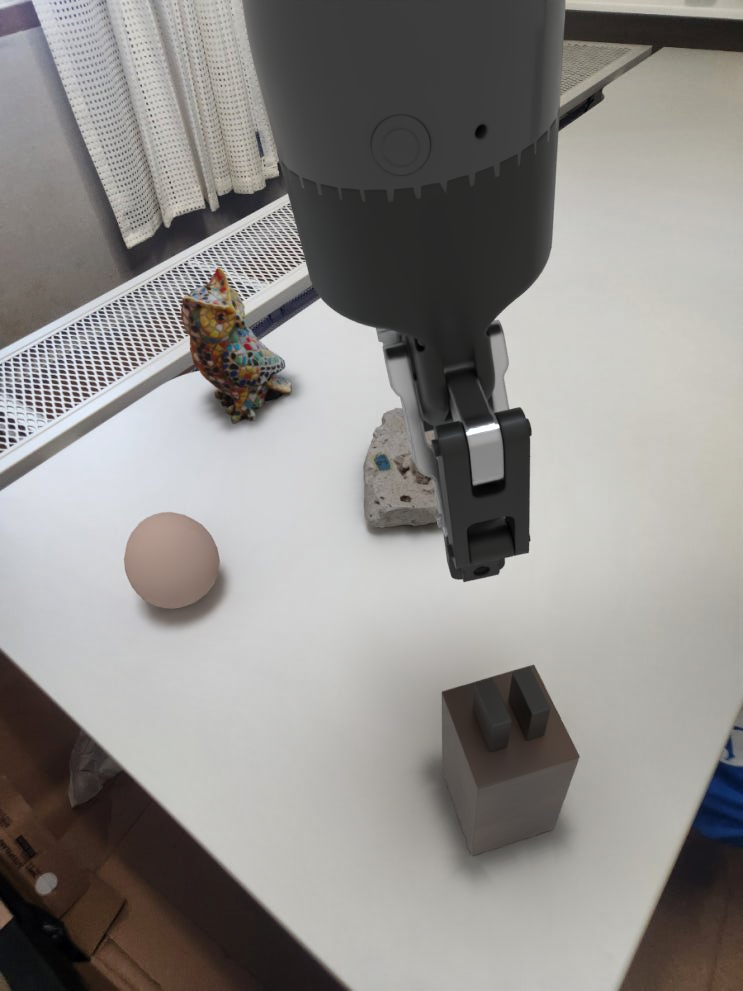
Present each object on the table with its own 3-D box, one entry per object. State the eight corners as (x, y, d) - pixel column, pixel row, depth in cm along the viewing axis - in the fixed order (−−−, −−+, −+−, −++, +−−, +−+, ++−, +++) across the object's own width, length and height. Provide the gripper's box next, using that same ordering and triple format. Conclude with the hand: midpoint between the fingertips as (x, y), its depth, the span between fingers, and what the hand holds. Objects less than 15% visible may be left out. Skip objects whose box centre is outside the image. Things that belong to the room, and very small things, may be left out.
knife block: (518, 746, 45) (539, 634, 35) (554, 829, 41) (590, 730, 31) (441, 770, 44) (440, 662, 34) (471, 856, 41) (480, 764, 30)
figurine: (291, 421, 70) (263, 291, 59) (206, 430, 70) (162, 302, 59) (292, 373, 76) (266, 246, 65) (213, 381, 76) (175, 256, 65)
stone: (466, 523, 54) (346, 504, 56) (460, 555, 59) (349, 537, 60) (483, 399, 61) (375, 384, 62) (476, 437, 66) (376, 423, 67)
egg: (159, 555, 59) (126, 489, 53) (238, 557, 58) (214, 490, 52) (131, 625, 54) (91, 561, 48) (216, 629, 53) (187, 564, 47)
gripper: (673, 201, 13) (592, 609, 25) (482, -6, 22) (491, 370, 35) (295, 289, 13) (398, 651, 26) (260, 48, 22) (349, 402, 35)
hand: (451, 490), depth 30 cm, fingers open, 8 cm apart
